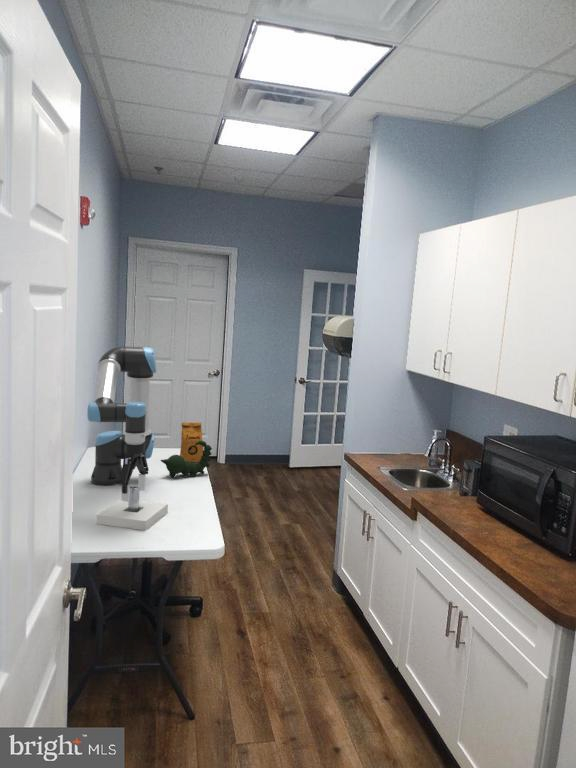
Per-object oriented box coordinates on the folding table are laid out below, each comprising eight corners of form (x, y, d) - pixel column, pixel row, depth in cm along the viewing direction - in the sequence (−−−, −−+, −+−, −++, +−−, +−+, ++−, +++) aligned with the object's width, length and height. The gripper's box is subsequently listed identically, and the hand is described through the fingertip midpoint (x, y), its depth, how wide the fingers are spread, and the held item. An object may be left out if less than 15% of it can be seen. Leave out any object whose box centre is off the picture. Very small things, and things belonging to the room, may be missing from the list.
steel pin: (131, 515, 216) (131, 486, 214) (140, 516, 215) (141, 487, 213) (126, 518, 212) (126, 489, 210) (135, 520, 211) (136, 490, 210)
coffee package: (203, 463, 297) (204, 424, 295) (180, 463, 294) (181, 423, 292) (202, 459, 307) (203, 420, 304) (179, 459, 304) (180, 420, 301)
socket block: (122, 506, 225) (122, 498, 224) (167, 512, 221) (167, 503, 221) (96, 523, 205) (96, 514, 205) (145, 530, 202) (146, 521, 201)
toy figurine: (204, 475, 282) (156, 474, 271) (209, 439, 281) (161, 437, 269) (210, 480, 274) (160, 479, 262) (214, 443, 272) (165, 441, 261)
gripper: (128, 450, 197) (127, 507, 200) (157, 436, 221) (156, 487, 224) (109, 448, 198) (108, 504, 201) (140, 434, 223) (139, 485, 225)
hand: (133, 495), depth 212 cm, fingers open, 13 cm apart
